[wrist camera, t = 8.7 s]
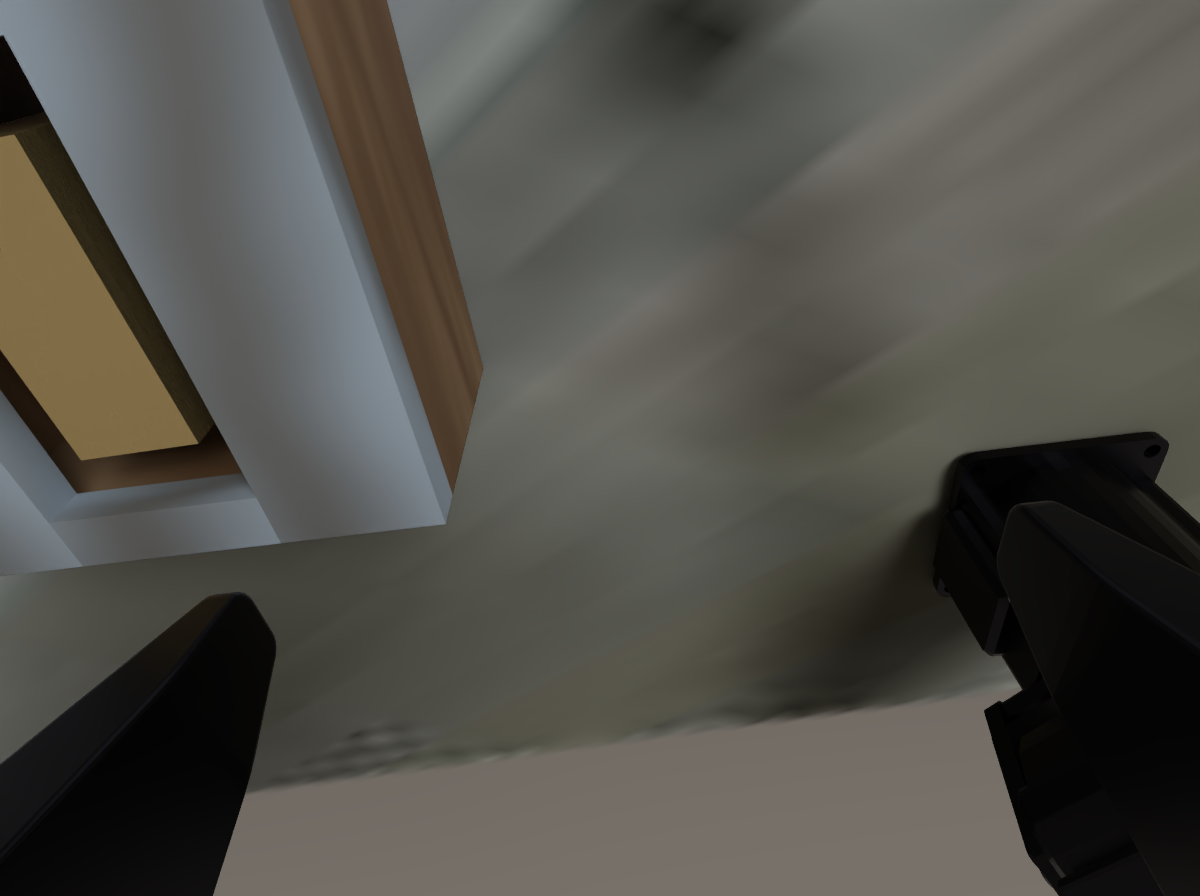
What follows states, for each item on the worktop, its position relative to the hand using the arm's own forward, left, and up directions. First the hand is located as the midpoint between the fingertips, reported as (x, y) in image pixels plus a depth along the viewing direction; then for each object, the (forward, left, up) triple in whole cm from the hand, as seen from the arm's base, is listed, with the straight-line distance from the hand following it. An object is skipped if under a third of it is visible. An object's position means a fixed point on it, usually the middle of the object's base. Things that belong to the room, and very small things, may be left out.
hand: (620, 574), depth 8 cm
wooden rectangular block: (+10, -2, -13) cm, 16 cm away
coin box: (+10, -2, -12) cm, 16 cm away
